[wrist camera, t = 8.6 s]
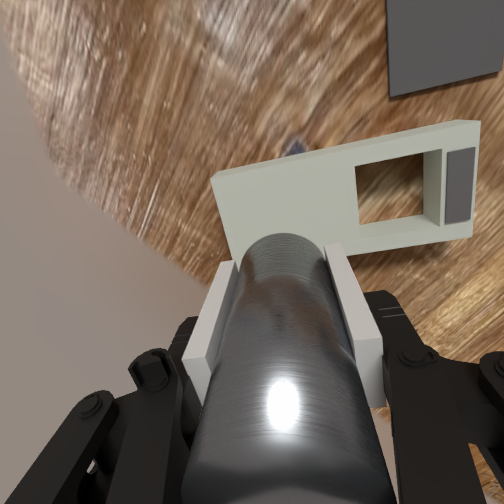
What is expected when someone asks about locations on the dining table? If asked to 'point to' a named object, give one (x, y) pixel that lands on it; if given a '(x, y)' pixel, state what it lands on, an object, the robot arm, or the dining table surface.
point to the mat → (442, 41)
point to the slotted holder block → (353, 193)
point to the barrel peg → (285, 393)
